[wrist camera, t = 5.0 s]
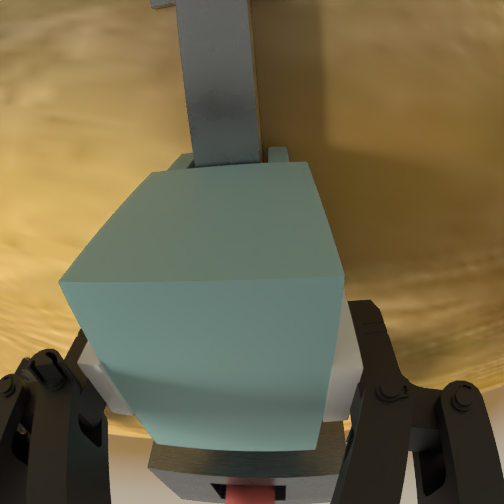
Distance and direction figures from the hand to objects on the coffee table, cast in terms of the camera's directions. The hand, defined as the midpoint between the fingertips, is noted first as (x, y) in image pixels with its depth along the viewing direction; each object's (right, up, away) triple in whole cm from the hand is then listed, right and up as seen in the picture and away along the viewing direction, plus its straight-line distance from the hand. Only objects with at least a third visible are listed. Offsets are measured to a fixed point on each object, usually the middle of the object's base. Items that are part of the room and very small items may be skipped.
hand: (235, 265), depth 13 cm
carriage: (0, +2, +3) cm, 4 cm away
